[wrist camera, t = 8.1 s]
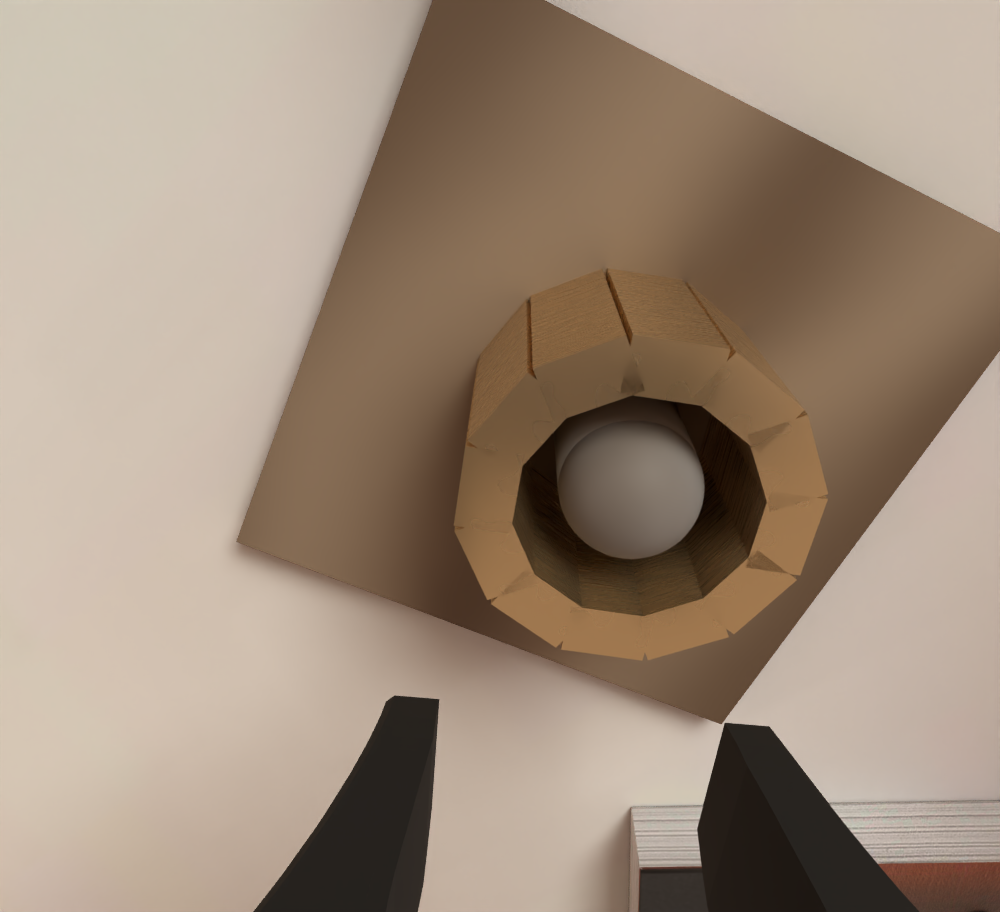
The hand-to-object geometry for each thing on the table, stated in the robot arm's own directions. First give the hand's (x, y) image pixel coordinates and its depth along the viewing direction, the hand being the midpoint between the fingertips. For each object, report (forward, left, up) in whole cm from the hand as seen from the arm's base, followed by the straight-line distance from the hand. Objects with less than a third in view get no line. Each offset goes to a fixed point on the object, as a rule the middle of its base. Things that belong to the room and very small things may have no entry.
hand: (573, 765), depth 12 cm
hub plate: (0, -3, -7) cm, 8 cm away
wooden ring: (0, -3, -7) cm, 7 cm away
